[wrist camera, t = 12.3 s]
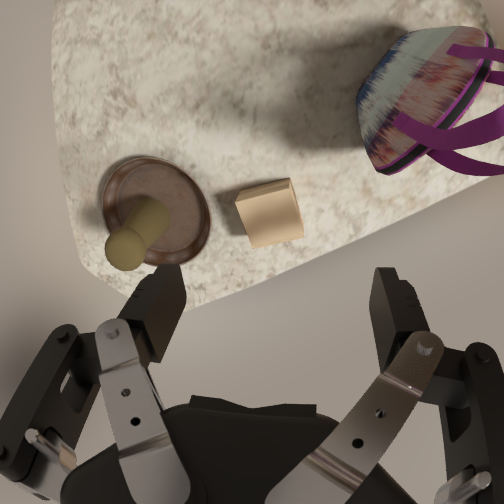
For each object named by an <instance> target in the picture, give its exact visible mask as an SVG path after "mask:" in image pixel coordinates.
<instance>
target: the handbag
mask: <svg viewBox="0 0 504 504" xmlns="http://www.w3.org/2000/svg"><path fill="white" fill-rule="evenodd" d="M494 61H497V62H501V63H504V50H501V49H496V48H495V45H494V42H493V40H492V38H491V36H490V35H489V34H487V33H486V32H484V31H482V30H480V29H477V28H474V27H466V26H450V27H440V28H431V29H424V30H418V31H414V32H410V33H408V34H406V35H404V36H403V37H401V38H400V39H398V40H397V41H396V42H395V43H394V44H393V45H392V47H391V48H390V49H389V50H388V52H387V53H386V54H385V56H384V57H383V58H382V60H381V61H380V62H379V64H378V65H377V66H376V67H375V69H374V70H373V71H372V73H371V74H370V75H369V76H368V78H367V79H366V80H365V82H364V83H363V85H362V86H361V87H360V89H359V92H358V95H357V98H356V106H357V111H358V118H359V125H360V131H361V135H362V140H363V143H364V146H365V149H366V152H367V155H368V157H369V158H370V160H371V162H372V164H373V166H374V168H375V170H376V171H377V172H379V173H382V174H385V175H388V176H390V175H393V174H395V173H398V172H401V171H402V170H404V169H405V168H407V167H408V166H410V165H411V164H413V163H414V162H416V161H417V160H419V159H420V158H421V157H422V156H424V155H425V154H427V155H428V156H430V157H431V158H432V159H434V160H435V161H436V162H438V163H440V164H441V165H443V166H445V167H447V168H448V169H451V170H453V171H455V172H458V173H461V174H466V175H473V176H494V175H501V174H504V166H501V165H495V164H490V163H486V162H481V161H477V160H474V159H471V158H468V157H465V156H463V155H461V154H459V153H457V152H455V151H453V150H456V149H462V148H468V147H472V146H477V145H482V144H485V143H488V142H490V141H493V140H496V139H499V138H500V137H502V136H504V105H502V106H501V107H499V108H498V109H496V110H495V111H493V112H491V113H489V114H487V115H484V116H482V117H480V118H477V119H474V120H472V121H469V122H467V123H465V124H463V125H460V126H458V127H455V128H453V127H454V126H455V125H456V124H457V123H458V122H459V120H460V119H461V118H462V117H463V116H464V114H465V113H466V112H467V111H468V109H469V108H470V106H471V105H472V104H473V102H474V101H475V99H476V98H477V96H478V95H479V93H480V92H481V90H482V88H483V86H484V84H485V82H488V83H493V84H498V85H502V86H504V72H502V71H491V68H492V65H493V62H494Z"/></svg>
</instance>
